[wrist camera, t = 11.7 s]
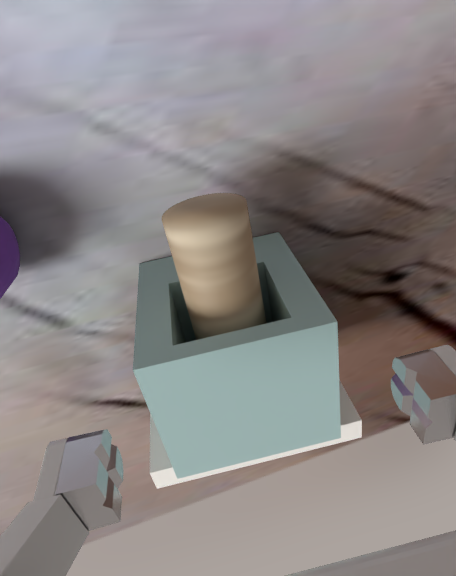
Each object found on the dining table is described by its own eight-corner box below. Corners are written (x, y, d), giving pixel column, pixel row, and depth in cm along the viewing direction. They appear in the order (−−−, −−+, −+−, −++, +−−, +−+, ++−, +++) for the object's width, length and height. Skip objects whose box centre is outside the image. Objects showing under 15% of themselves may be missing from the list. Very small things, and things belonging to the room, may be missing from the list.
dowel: (158, 205, 20) (163, 237, 17) (236, 186, 21) (257, 213, 17) (200, 354, 26) (211, 401, 22) (263, 337, 26) (283, 381, 22)
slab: (150, 362, 30) (149, 473, 22) (308, 324, 30) (361, 420, 23) (156, 376, 30) (156, 488, 23) (310, 340, 31) (361, 437, 23)
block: (139, 263, 25) (133, 370, 17) (278, 232, 26) (337, 321, 18) (170, 357, 30) (177, 478, 21) (289, 329, 30) (340, 437, 22)
